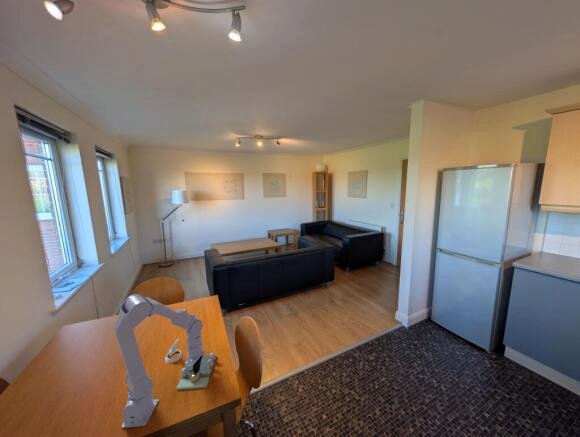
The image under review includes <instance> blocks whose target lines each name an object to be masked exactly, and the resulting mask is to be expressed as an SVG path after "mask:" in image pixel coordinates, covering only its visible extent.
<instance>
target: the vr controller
mask: <svg viewBox="0 0 580 437" xmlns="http://www.w3.org/2000/svg"><path fill="white" fill-rule="evenodd" d="M179 343H180V339H179V338H177V339H175V342H174V343H173V344H172V345H171V347H170V349H169V351H168V352H167V354H166V356H165V358H164V361H165V363H167V364H173V363H175V362H177V361H179V360H180V359H182V357H183V352H182V351H181V349H176V347H177V346H178V345H179ZM176 353H178V355H177V356H174V357H172V356H173V355H174V354H176ZM168 356H169V357H168ZM170 357H172V358H170Z"/></svg>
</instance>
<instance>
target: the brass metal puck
mask: <svg viewBox="0 0 580 437" xmlns="http://www.w3.org/2000/svg"><path fill="white" fill-rule="evenodd" d="M189 377H190V382H191V383H195V382H197V381H198V380H199V379H200V373H199V371H194V372H192V373H191V374H190V376H189Z"/></svg>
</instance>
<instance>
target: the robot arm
mask: <svg viewBox="0 0 580 437" xmlns="http://www.w3.org/2000/svg"><path fill="white" fill-rule="evenodd" d="M155 315H159V316H160V317H163V318H167V319H169V320H170V324H172V325H174V326H176V327H178V328H181V329H183V330H186V342H187V344H186V345H187V361H188V365H187V370H192V369H193V372H194V371H199V370H200V365H201V360H202V357H203V356H205V354H206V350H203V349H204V348H203V345H204V341H203V340H202V330H203V329H204V328H203V327H204V323H203V321H202V320H201V319H200V318H198V317H197V316H196V315H195V314H194V313H192V314H191V313H188V311H187V310H186V309H177V310H174V309H172V308H171V307H169V306H167V305H165V304H163V303H161V302H158V300H154V299H152V298H150V297H148V296H144V297H143V295H141V294H139V293H136V294H131V295H129V296H128V297H126V299H125V300H124V301H123V302H122V303H121V305H120V307H119V313H118V315H117V318H116V320H115V324H114V326H113V330H114V334H115V336H116V340H117V343H118V347H119V350H120V352H121V356H122V360H123V362H124V367H125V369H126V370H125V371H126V375H125V376H126V377H125V383H126V384H127V387H128V388H129V389H128V391H127V401H126V405H125V407H124V408H123V410H122V419H123V423H122V425H121V428H122V429H125V428H134V427H135V428H136V427H145V426H146V425H147V424H148V422H149V420H150V418H151V416H152V414H153V412H154V410H155V408H156V407H157V405H158V403H159V399H156V398H155V399H154V395H153V394H154V393H153V386H154V380H153V379H151V377H150V376H149V374H148V372H147V370H146V369H145V366H144V362H143V359H142V356H141V352H140V349H139V346H138V342H137V338H136V335H135V332H134V329H135V328H136V327H138V325H139V324H141V323H142V322H143V321H144V320H146V318H148V317H149V318H150V317H153V316H155Z"/></svg>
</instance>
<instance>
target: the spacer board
mask: <svg viewBox="0 0 580 437" xmlns="http://www.w3.org/2000/svg"><path fill="white" fill-rule="evenodd" d="M216 359H217V354H215V352H211V353H209V355H203V357H202V360H201V365H200V370H199V373H200V379H199V380H198V381H197V382H195V383H191V382H190V377H189V376H190V374H191V373H192V372H193V369H192V370H187V365H188V360H186V361H185V362H184V366H185V367H183V368H182V369H181V378H180V380H179V382H178V383H177V386H176V391H181V390H193V389H205V388H208V384H209V380H210V377H211V375H212V371H213V368H214V365H215V362H216Z"/></svg>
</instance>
